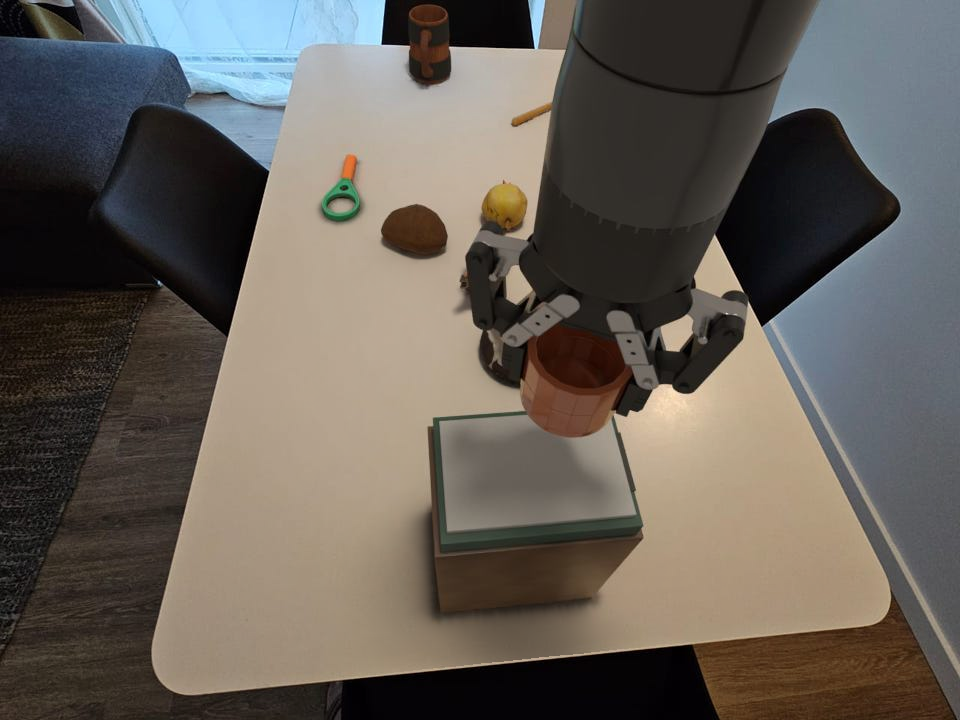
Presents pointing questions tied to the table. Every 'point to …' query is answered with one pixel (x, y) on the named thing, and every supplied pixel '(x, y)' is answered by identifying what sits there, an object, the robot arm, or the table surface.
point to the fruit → (505, 205)
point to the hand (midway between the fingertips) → (570, 385)
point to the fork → (530, 114)
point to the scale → (529, 483)
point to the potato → (415, 229)
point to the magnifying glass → (343, 192)
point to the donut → (494, 353)
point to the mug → (429, 44)
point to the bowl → (572, 381)
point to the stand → (522, 567)
